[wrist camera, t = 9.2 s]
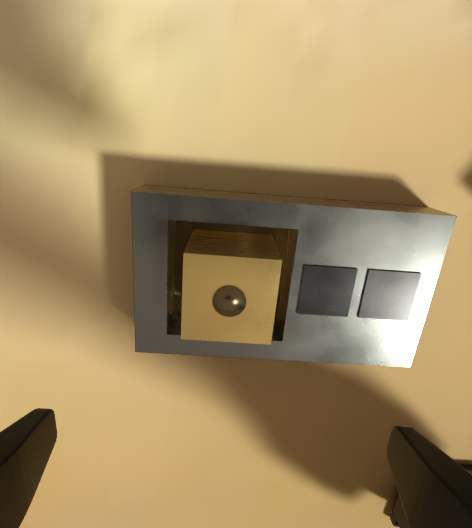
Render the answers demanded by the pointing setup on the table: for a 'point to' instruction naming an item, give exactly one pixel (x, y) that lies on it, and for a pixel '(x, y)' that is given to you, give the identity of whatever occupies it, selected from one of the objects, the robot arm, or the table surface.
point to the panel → (301, 274)
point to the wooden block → (229, 287)
